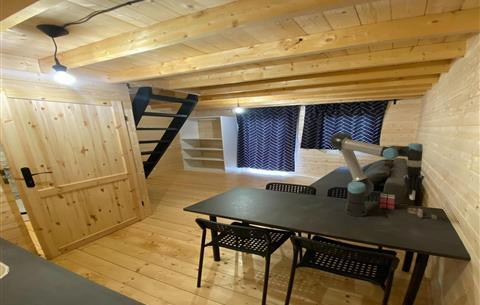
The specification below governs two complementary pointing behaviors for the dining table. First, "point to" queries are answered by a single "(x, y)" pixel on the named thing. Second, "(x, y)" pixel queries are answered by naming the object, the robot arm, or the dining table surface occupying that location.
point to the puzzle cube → (387, 201)
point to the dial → (415, 212)
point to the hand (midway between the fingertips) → (412, 199)
